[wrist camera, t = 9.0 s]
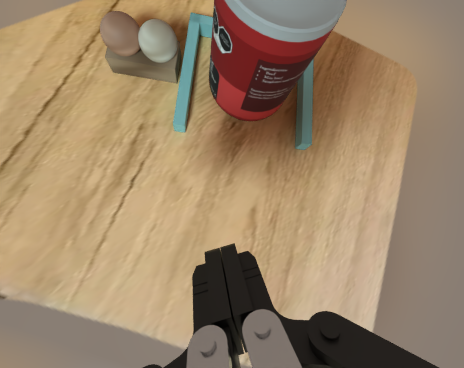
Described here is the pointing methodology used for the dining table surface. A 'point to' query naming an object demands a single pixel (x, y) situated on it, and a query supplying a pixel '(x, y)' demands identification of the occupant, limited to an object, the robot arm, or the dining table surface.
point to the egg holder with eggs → (141, 47)
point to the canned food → (265, 50)
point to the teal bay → (196, 28)
